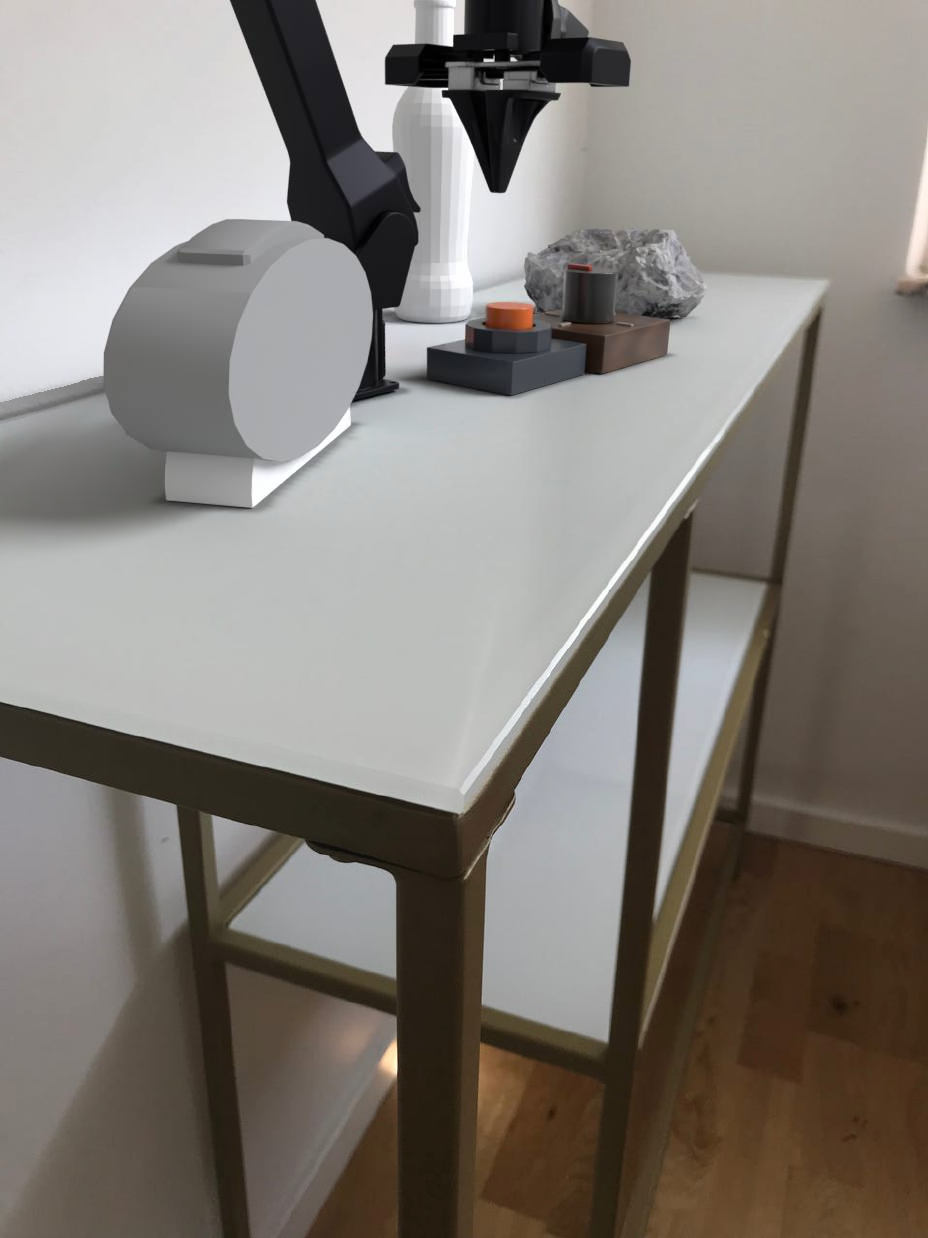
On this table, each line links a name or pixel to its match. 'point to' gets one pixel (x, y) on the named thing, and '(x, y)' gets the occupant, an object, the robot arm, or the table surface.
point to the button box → (506, 358)
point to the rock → (621, 271)
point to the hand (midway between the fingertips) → (498, 192)
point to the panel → (613, 339)
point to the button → (509, 315)
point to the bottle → (436, 186)
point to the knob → (589, 294)
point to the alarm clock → (240, 356)
